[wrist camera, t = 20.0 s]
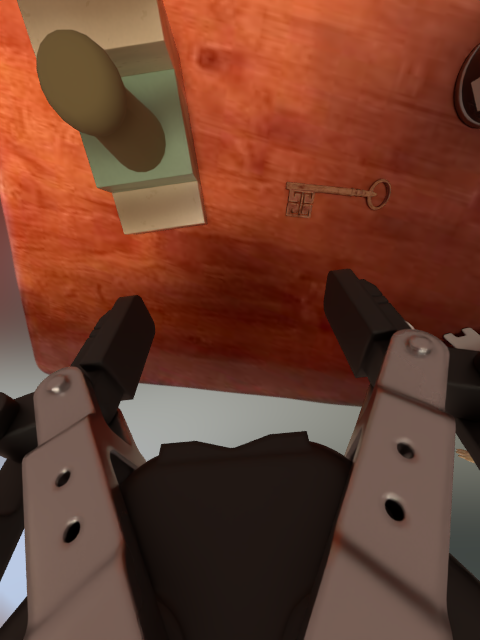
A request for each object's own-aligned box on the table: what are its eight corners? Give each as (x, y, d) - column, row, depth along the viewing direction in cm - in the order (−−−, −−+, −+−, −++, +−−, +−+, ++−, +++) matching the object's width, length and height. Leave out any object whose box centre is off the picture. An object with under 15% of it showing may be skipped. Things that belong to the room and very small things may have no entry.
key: (281, 215, 34) (378, 224, 35) (282, 215, 33) (382, 225, 34) (288, 169, 32) (392, 180, 32) (289, 168, 31) (396, 179, 32)
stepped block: (207, 223, 34) (197, 219, 24) (134, 234, 34) (95, 234, 24) (178, 52, 27) (147, -49, 18) (88, 67, 28) (7, -26, 18)
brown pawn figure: (101, 155, 25) (9, 99, 15) (116, 90, 23) (22, -25, 13) (155, 183, 26) (104, 149, 16) (173, 123, 24) (130, 41, 14)
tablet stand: (433, 372, 45) (475, 402, 37) (431, 338, 42) (477, 362, 34) (478, 359, 44) (532, 387, 36) (480, 323, 41) (538, 344, 33)
